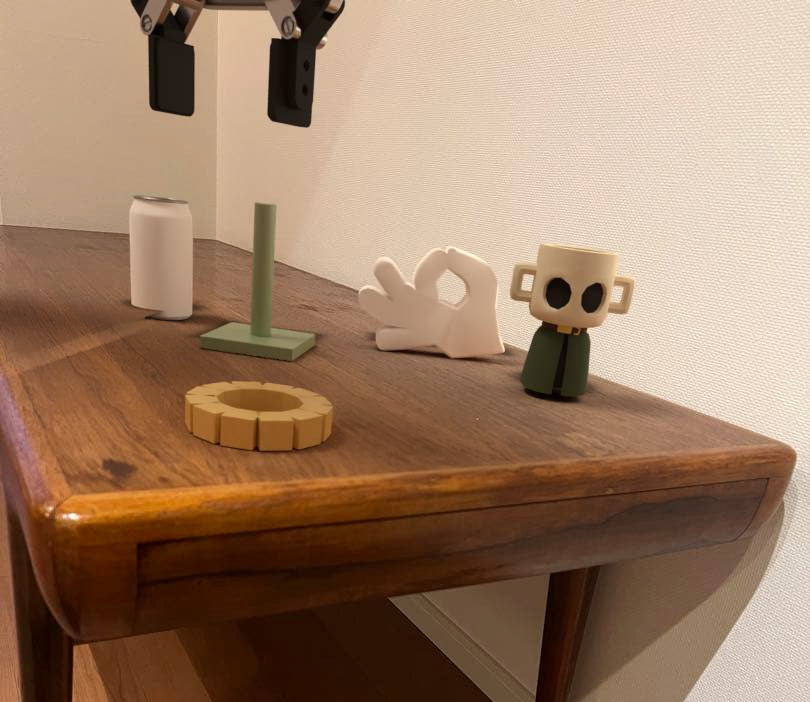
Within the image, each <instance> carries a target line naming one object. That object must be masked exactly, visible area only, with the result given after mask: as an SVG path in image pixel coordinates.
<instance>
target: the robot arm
mask: <svg viewBox="0 0 810 702" xmlns="http://www.w3.org/2000/svg"><path fill="white" fill-rule="evenodd" d="M130 4H131V5H132V7H133V10H134V11H135V12H136V14H137V15H138V17H139V27H140V31H141V32H142V34H143V35H144V36H147V48H148V49H147V51H148V52H147V53H148V55H147V56H148V57H147V58H148V59H147V60H148V103H149V104H148V105H149V108H150V109H151V110H152V111H154V112H159V113H164V114H169V115H170V114H171V115H176V116H180V117H189V118H190V117H192V116H193V115H194V114H195V110H196V109H195V100H196V97H195V94H196V92H195V89H196V88H195V87H196V86H195V83H196V81H195V79H196V78H195V77H196V76H195V75H196V68H195V67H196V52H195V46H194V45H193V44H192V45H191V44H188V43H187V41H188V38H189V37H190V35H191V33H192V30H193V29H194V27H195V25H196V23H197V21H198V20H199V17H200V15H201V13H202V11H203V9H205V10H211V11H248V12H249V11H251V12H252V11H253V12H254V11H256V12H257V11H258V12H259V11H261V12H262V11H263V12H264V11H265V12H267V11H268V12H269V14H270V16H271V18H272V20H273V22H274V24H275V26H276V28H277V30H278V32H279V35H280V38H279V37H271V38H270V40H271V41H270V45H269V57H268V81H267V83H268V84H267V108H266V114H267V117H268V119H269V121H271V122H272V123H277V124H282V125H287V126H292V127H297V128H303V129H305V128H306V129H308V128H310V126H311V124H312V117H313V116H312V115H313V103H314V92H315V76H316V59H317V50H322V49H323V48H324V47H326V44H327V42H328V33H329V31H330V30H331V28H332V27H333V25H334V24H335V22H336V21H337V20H338V19H339V17H341V15H342V13H343V12H344V11H345V7H346V0H130ZM174 4H176V5H178V7H177V9H176V11H175V13H173V11H172V10H171V9H172V7H173V5H174Z"/></svg>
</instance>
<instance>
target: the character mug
mask: <svg viewBox="0 0 810 702" xmlns="http://www.w3.org/2000/svg"><path fill="white" fill-rule="evenodd" d="M537 250H538V251H537V257H536V262H535V263H532V262H524V261H519V262H516V263H515V264H514V267H513V269H512V275H511V282H510V288H509V297H510V299H511V300H513V301H515V302H523V303H528V310H529V315H530V316H532V317H533V318H535V319H536V320H538V321H541V325H540V326H539V327H537V328H536V330H535V332H534V333H533V336H532V339H531V342H530V345H529V348H528V351H527V355H526V357H525V360H524V363H523V367H522V372H521V374H520V378H519V381H520V383H521V385H522V386H523V387H524V388H526V389H529V390H531V391H533V392H536V393H542V394H545V395H552V391H553V389H561V391H560V396H562V397H580V396H584V395H585V394H586V391H587V388H588V381H589V380H588V379H589V371H590V357H591V346H592V345H591V344H592V343H591V342H592V341H591V337H590V334H589V333H588V329H590V328H591V329H592V328H598V327H601V326H602V325H603V323H604V322H605V320H606V319H607V316H608V313H609V314H616V315H625V314H628V313H629V311H630V309H631V305H632V301H633V297H634V292H635V290H636V289H635V288H636V278H635V277H633V276H631V275H625V274H617V271H618V266H619V261H620V253H618V252H614V251H610V250H604V249H600V248H593V247H587V246H578V245H571V244H563V243H551V242H541V243H539V247H538V249H537ZM525 275H528V276H529V275H530V276H533V279H532V285H531V290H523V289H522V287H523V280H524V276H525ZM614 287H619V288H620V287H622V288H623V289H622V293H621V297H620V301H619V302H616V301H611V298H612V295H613V294H612V293H613V290H614Z"/></svg>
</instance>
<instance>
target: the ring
mask: <svg viewBox="0 0 810 702" xmlns="http://www.w3.org/2000/svg"><path fill="white" fill-rule="evenodd" d="M333 412H334V407H333V404H332V402H331V401H329V400H328V399H327V398H326V397H325V396H323V395H322V396H321V394H320V393H317V392H313V391H310V390H308V389H305V388H301V387H294V385H286V384H279V383H273V382H265V383H264V384H262V383H261V382H260V381H234V380H233V381H230V382H226V381H220V382H214V383H213V382H212V383H207V384H202V385H201V386H199V385H197V386H195V387H193V388H192V389H190V390H189V391H186V392H185V395H184V424H185V426H186V427H187V431H188V432H189V433H190V434H192V435H193V436H194V437H197V438H199V439H202V440H204V441H207V442H209V443H211V444H214V445H215V444H220V446H221V447H226V448H227V447H228V448H233V449H241V450H246V451H247V450H248V451H253V450H254V449H256V448H257V449H258V451H259V452H276V451H277V452H282V451H292V450H293V449H295V450H303V449H307V448H311V447H315V446H319V445H321V443H325V442H326V441H327V440H328V438H329V437H330V436H331V434H332V425H333V414H334V413H333Z"/></svg>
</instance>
